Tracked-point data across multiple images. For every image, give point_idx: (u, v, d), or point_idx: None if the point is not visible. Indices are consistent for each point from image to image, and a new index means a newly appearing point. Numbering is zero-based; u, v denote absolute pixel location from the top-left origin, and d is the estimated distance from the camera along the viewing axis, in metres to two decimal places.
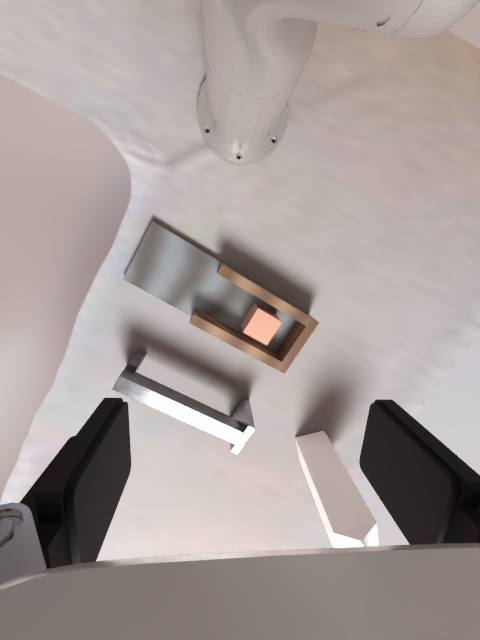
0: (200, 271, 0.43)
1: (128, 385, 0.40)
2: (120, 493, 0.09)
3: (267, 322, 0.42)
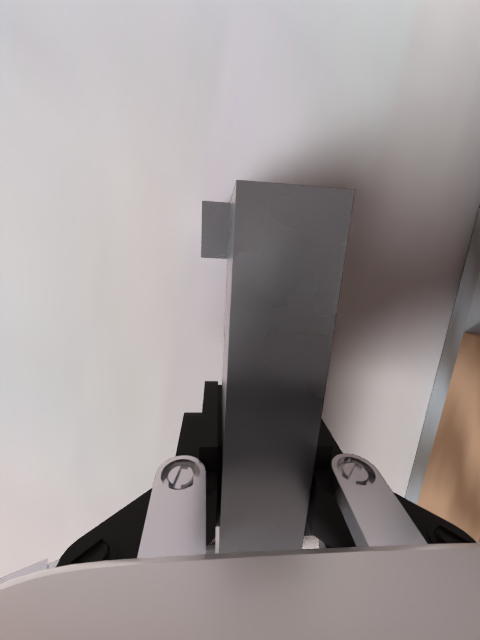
0: None
1: (306, 275, 0.06)
2: None
3: None
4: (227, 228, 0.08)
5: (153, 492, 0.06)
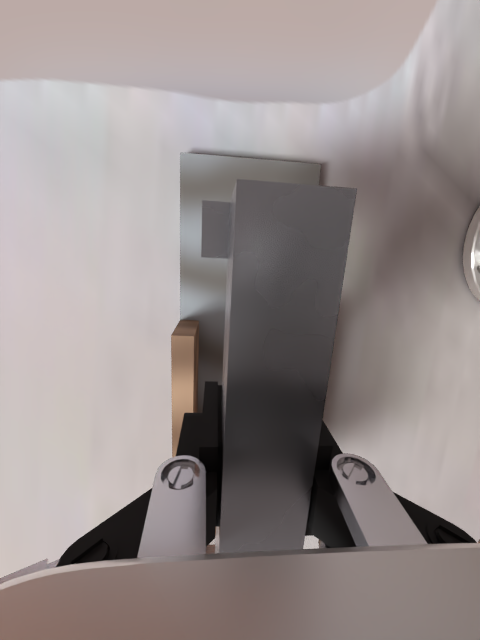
0: None
1: (307, 275, 0.06)
2: None
3: None
4: (227, 228, 0.08)
5: (153, 492, 0.06)
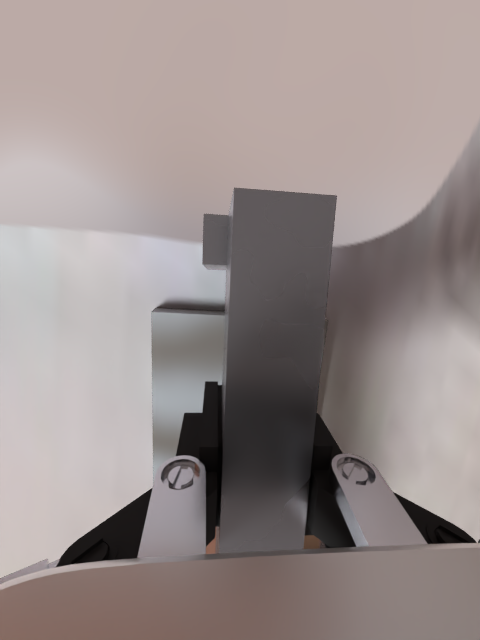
0: None
1: (297, 270, 0.07)
2: None
3: None
4: (226, 238, 0.09)
5: (153, 492, 0.06)
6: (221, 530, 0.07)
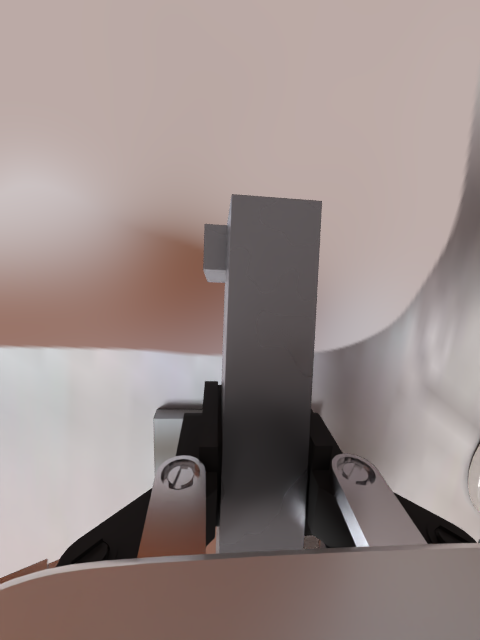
0: None
1: (289, 266, 0.07)
2: None
3: None
4: (225, 245, 0.10)
5: (153, 492, 0.06)
6: (221, 522, 0.08)
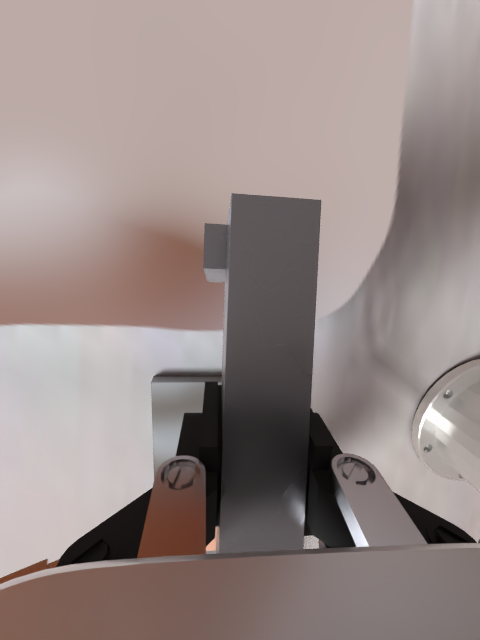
0: None
1: (288, 264, 0.07)
2: None
3: None
4: (225, 244, 0.10)
5: (153, 492, 0.06)
6: (221, 520, 0.08)
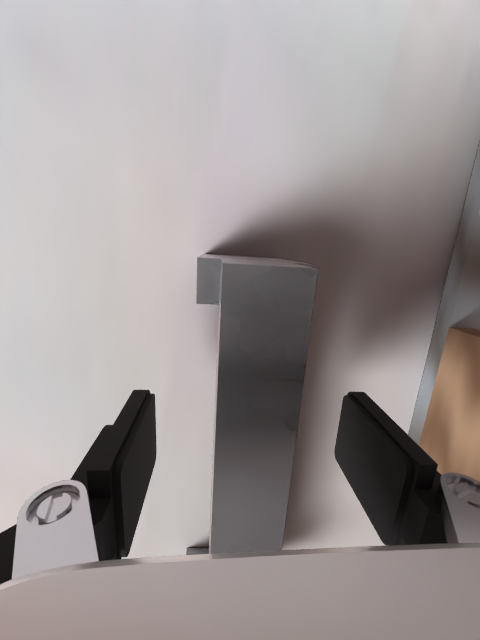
0: None
1: (280, 334, 0.07)
2: (149, 479, 0.10)
3: None
4: (219, 279, 0.10)
5: (18, 538, 0.05)
6: (212, 540, 0.09)
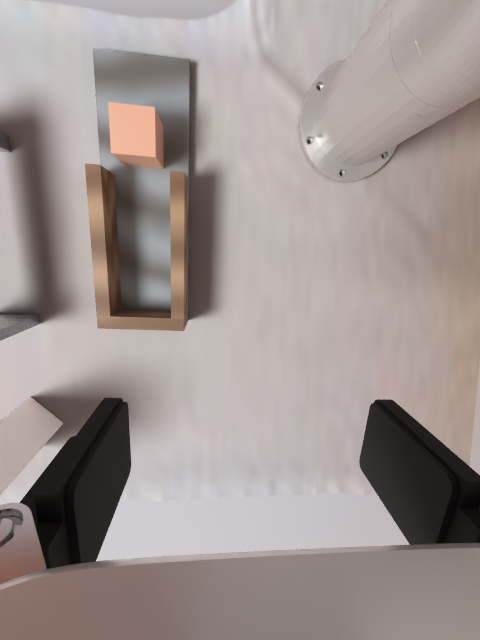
0: None
1: None
2: (120, 493, 0.09)
3: (143, 134, 0.27)
4: None
5: None
6: None
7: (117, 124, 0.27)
